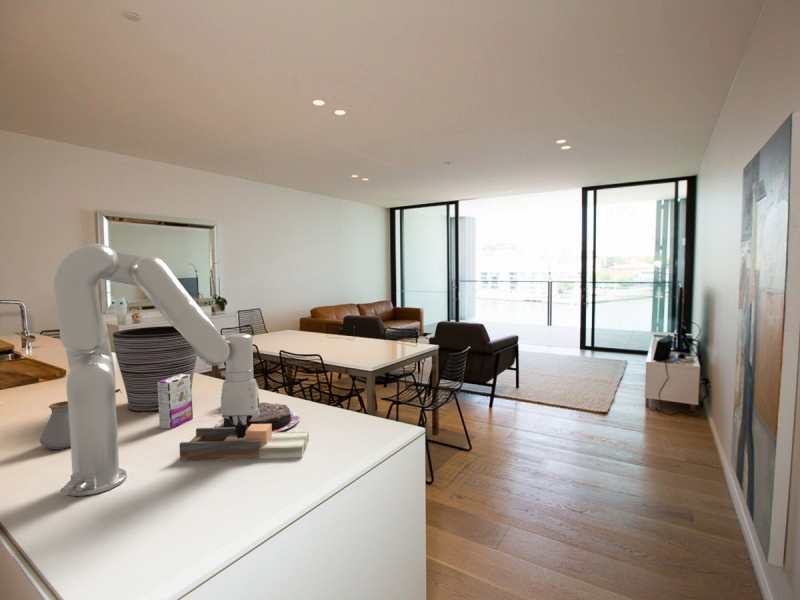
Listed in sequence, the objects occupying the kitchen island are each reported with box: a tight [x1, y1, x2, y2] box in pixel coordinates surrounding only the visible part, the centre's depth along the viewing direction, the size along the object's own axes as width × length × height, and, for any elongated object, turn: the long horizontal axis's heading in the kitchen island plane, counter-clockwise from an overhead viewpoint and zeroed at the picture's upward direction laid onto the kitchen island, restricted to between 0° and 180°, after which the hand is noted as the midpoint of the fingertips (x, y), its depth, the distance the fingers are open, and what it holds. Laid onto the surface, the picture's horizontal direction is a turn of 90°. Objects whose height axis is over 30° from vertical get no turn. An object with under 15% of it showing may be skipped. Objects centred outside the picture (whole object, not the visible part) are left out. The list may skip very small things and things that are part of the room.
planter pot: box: [112, 325, 198, 413], centre depth 172 cm, size 30×30×30 cm
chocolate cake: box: [214, 402, 300, 433], centre depth 149 cm, size 28×28×7 cm
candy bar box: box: [157, 374, 194, 430], centre depth 149 cm, size 11×5×16 cm, turn 168°
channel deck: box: [179, 427, 310, 462], centre depth 126 cm, size 12×34×5 cm, turn 93°
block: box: [245, 424, 272, 445], centre depth 126 cm, size 6×6×4 cm
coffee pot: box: [39, 388, 123, 450], centre depth 134 cm, size 21×12×15 cm, turn 129°
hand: (241, 436), depth 126 cm, fingers closed
